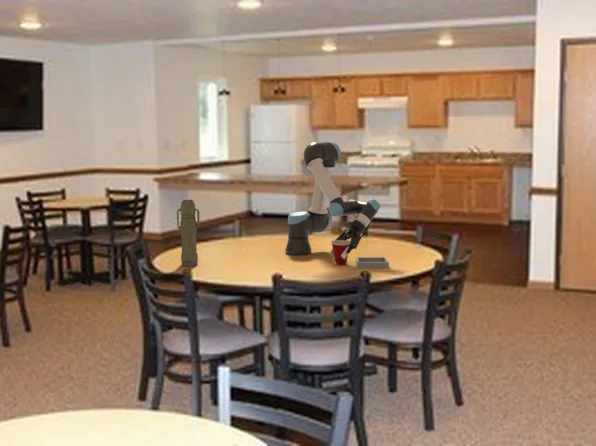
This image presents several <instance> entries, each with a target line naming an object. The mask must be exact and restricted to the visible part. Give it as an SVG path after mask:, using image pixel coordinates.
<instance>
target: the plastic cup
mask: <svg viewBox="0 0 596 446" xmlns="http://www.w3.org/2000/svg"><path fill="white" fill-rule="evenodd" d="M350 241H351V240H348V239H347V240H336V239H333V240H331V241H330V243H331V245H332V248H333V252H334V255H333V257H334V260H335V261H334V262H335V265H343V266H344V265H346V264H347V262H348V258H349V254H348V255H347V257H346V258H345V259H343V258H342V257H341V255H342V253H343V252H344V251H345V249H346V248H347V247H348V245H350Z"/></svg>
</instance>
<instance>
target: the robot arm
mask: <svg viewBox="0 0 596 446" xmlns="http://www.w3.org/2000/svg"><path fill="white" fill-rule="evenodd" d="M341 157H342V152H341V148H340V146H339V145H338V144H337V143H336V142H333V141H321V142H320V141H319V142H315V141H313V142H311V143H308V144H307V146H306V147H305V149H304V152H303V160H304V161H303V162H304V165H305V167H307V170H310V171H311V173H312V175H313V176H314V177H313V178H314V179H315V180H314V186H313V193H312V200H311V206H310V207H309V208H308V209H307V210H308V211H295V212H291V213H290V214H289V215H287V216H288V217H287V239H288V240H287V242H286V243H287V244H286V247H285V251H284V253H285V254H286V255H291V254H292V255H291V256H293V255H295V256H296V255H297V256H305V255H310V254H312V251H313V250H312V247H311V243H310V241H309V234H315V233H318V234H319V233H323V232H326V231H327V230H329V228H330V226H331V224H332V220H331V216H332V217H338V218H339V217H342V216H343V217H344V216H354V215H356V217H355V218H354V219H353V221H352V222H351V224H350V228H349V229H347V228H345V229H344V230H343V231H342V233H340V234H339V236H338V237H337V238H336V239H335V240H347V241H348V240H349V241H350V245H348V247H347V248H346V249H345V251H344V252H343V253H342V255H341V257H342V258H343V259H345V258H346V257H347V255H348V256H349V254H350V253H351V251H353V250H356V249H357V248H358V246H359V243H360V242H361V239H362V237H363V236H364V234H363V233H364V232H365V230H366V228H367V227H368V225H369V224H370V223H371V222H372V220H373V219H374V217H375V216H376V215H377V213H378V212H379V210H380V208H381V204H380V203H379V201H377V200H376V199H374V198H370V199H368V200H367V202H366V201H362V200H358V199H349V200H348V201H344V199H343V197H342V196H341V194H340V192H339V190H338V189H337V187H336V184H335V183H334V182H333V180H332V178H331V177H332V171H333V169H334V168H335V167H336V163H338V162H339V161H340V159H341ZM327 203H328V204H329V205H328V208H327ZM328 254H329V255H330V256H331V257H334V252H333V247H332V248H331V250H330V251H329V252H328Z"/></svg>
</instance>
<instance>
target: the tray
mask: <svg viewBox="0 0 596 446" xmlns="http://www.w3.org/2000/svg"><path fill="white" fill-rule="evenodd" d="M355 264H356V267H357V268H358V269H383V268H384V269H389V268H390V262H389V261H388V258H387V257H386V256H378V257H377V256H373V257H372V256H370V257H369V256H367V257H366V256H362V257H357V256H356V257H355ZM388 267H389V268H388Z"/></svg>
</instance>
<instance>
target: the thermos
mask: <svg viewBox="0 0 596 446" xmlns="http://www.w3.org/2000/svg"><path fill="white" fill-rule="evenodd" d="M179 212H180V215H181V217H179ZM196 212H197V213H196ZM196 216H197V217H196ZM196 218H197V220H196ZM179 219H180V220H179ZM179 221H180V222H179ZM176 225H177V229H179V230H180V232H179V233H180V236H181V254H180V261H181V266H182V267H186V268H187V267H188V268H189V267H197V266H198V264H199V263H198V261H199V254H198V252H197V233H198V229H199V228H200V210H199V209H198V208H196V204H195V202H194V200H192V199H183V200H181V203H180V208H178V209H177V211H176Z"/></svg>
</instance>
